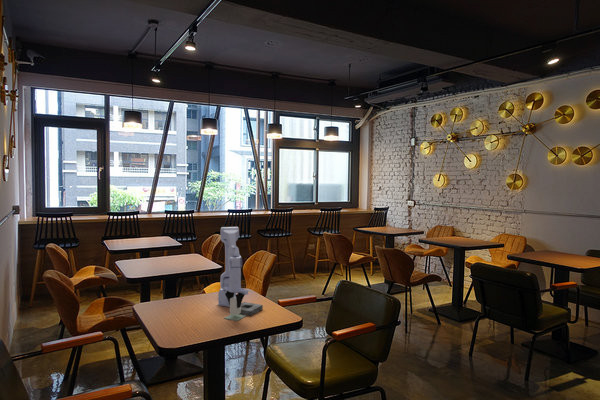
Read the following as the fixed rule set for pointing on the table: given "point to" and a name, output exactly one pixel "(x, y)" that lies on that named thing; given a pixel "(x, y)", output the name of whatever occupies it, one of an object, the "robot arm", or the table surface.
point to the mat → (235, 317)
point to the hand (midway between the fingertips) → (235, 306)
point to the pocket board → (250, 308)
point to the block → (234, 306)
